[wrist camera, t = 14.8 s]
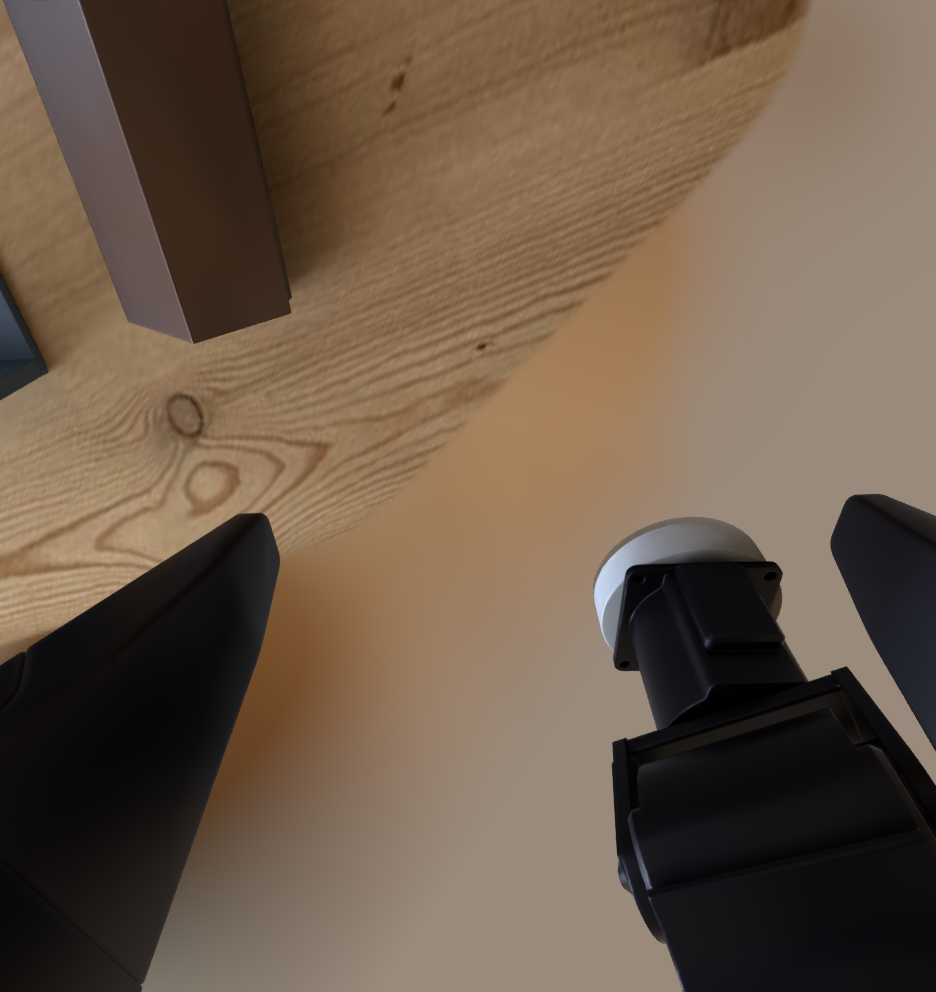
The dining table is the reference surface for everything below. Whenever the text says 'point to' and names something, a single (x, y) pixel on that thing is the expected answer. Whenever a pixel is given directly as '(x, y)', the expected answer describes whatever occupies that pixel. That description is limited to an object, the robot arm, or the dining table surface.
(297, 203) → the dining table surface
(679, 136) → the dining table surface
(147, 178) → the brown long block
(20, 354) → the dustpan
